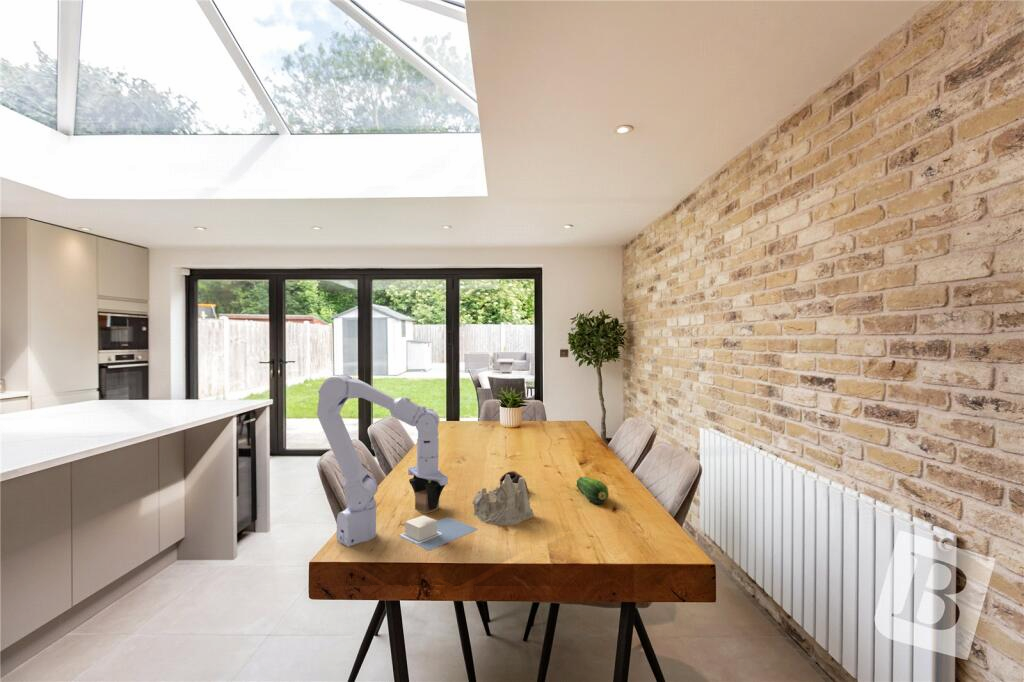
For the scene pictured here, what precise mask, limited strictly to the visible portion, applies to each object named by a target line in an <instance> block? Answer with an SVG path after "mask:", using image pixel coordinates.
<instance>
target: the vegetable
mask: <svg viewBox="0 0 1024 682" xmlns="http://www.w3.org/2000/svg"><path fill="white" fill-rule="evenodd" d="M575 486H576V487H577V488H578V491H582V492H581V493H583V495H584V496H585V498H586V499H588V500H589V501H590V502H592V503H594V504H597V505H598V504H599V505H600V504H604V502H606V501H607V500H608V498H609V494H610V492H609V489H608V487H607V485H606V484H605V483H604V482H602V481H601V480H598V479H595V478H592V477H588V476H579V478H578V479H577V480H576V485H575Z"/></svg>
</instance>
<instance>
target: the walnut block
mask: <svg viewBox="0 0 1024 682" xmlns="http://www.w3.org/2000/svg"><path fill="white" fill-rule="evenodd" d="M414 496H415V497H414V509H415V510H416V511H417V510H418V511H417V512H419V511H421V512H420V513H424V514H428V513H432V512H434V510H435V511H437V510H439V509H440V500H439V501H438V505H437V508H436V509H433V510H429V505H428V494H427V490H426V489H425V490H422V491H419V492H415V493H414Z"/></svg>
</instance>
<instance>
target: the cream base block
mask: <svg viewBox="0 0 1024 682" xmlns="http://www.w3.org/2000/svg"><path fill="white" fill-rule="evenodd" d="M437 521H438V520H436V519H434V518H432V517H428V516H426V515H424V514H423V515H421V516H416V517H414V518H412V519H411V518H410V519H409V520H406V521H405V522H404V524H405V525H404V526H405V527H404V528H405V529H404V533H405V535H407V536H409V537H411V538H413V539H415V540H417V541H421V540H424V539H426V538H428V537H431V536H433V535H436V534H437Z"/></svg>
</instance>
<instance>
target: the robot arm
mask: <svg viewBox="0 0 1024 682" xmlns="http://www.w3.org/2000/svg"><path fill="white" fill-rule="evenodd" d="M317 393H318V403H317V410H316V416H317V418H318V420H319V422H320V425H321V428H322V429H323V432H324V434H325V436H326V439H327V441H328V443H329V447H330V448H331V450H332V453H333V455H334V457H335V459H336V462H337V464H338V467H339V468H340V471H341V473H342V476H343V489H344V491H345V498H344V499H345V504H346V505H347V507H346V508H345V509H344V510H342V511H340V512H338V514H337V517H336V541H337V542H339V543H341V544H343V545H344V546H346V547H351V546H353V545H357V544H360V543H363V542H368V541H371V540H373V539H374V538H375V537H376V535H377V501H376V499H375V495H376V494H377V492H378V488H379V485H378V482H377V480H376V479H375V478H374V477H373V476H371V474H370V473H369V470H368V469H367V468H366V467H364V466H363V464H362V463H363V462H362V461H361V459H360V456H359V455H358V452H357V450H356V448H355V445H354V444H353V440H352V438H351V436H350V434H349V431H348V429H347V427H346V424H345V423H344V420H343V417H342V415H341V411H342V409H343V407H344V405H345V403H346V402H347V400H349V399H359V398H361V399H364V400H366V401H368V402H371V403H373V404H375V405H378V406H379V407H382V408H384V409H387V410H388V411H389V413H390V415H391V417H392V418H393V419H394V418H395V419H396V420H399V421H401V422H403V423H405V424H407V425H409V426H411V427H415V428H416V430H417V439H416V466H411V467H408V469H407V475H409V476H413V477H412V478H410V479H409V481H408V482H409V484H410V485H411V487H412V490H413V493H414V494H415V492H419V491H422V490H425V489H426V490H427V494H428V505H429V510H433V509H436V508H437V505H438V501H439V502H440V497H441V494H442V492H443V490H444V488H445V487H446V485H448V484H449V476H448V475H445V474H443V473H442V472H441V471H442V470H441V469H440V468H439V443H440V441H439V429H438V428H439V425H440V416H439V414H438V412H436V411H434V409H433V408H427V406H425V405H423V406H422V405H419V404H417V403H416V402H414V401H412V398H410V397H408V396H406V397H402V396H400V397H398V398H394V397H393V396H390V395H389V394H387V393H386V392H383V391H381V390H380V389H377V388H376V387H374V386H373V385H370V384H369V383H367V382H365V381H362V380H360V379H358V378H355V377H354V378H353V377H352V376H351V375H348V374H341V375H337V376H330V377H328V378H327V379H325V380H324V381H323V383H322V384H321V385H320V388H319V389H318V391H317ZM429 480H430V481H431V483H428V481H429Z"/></svg>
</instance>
